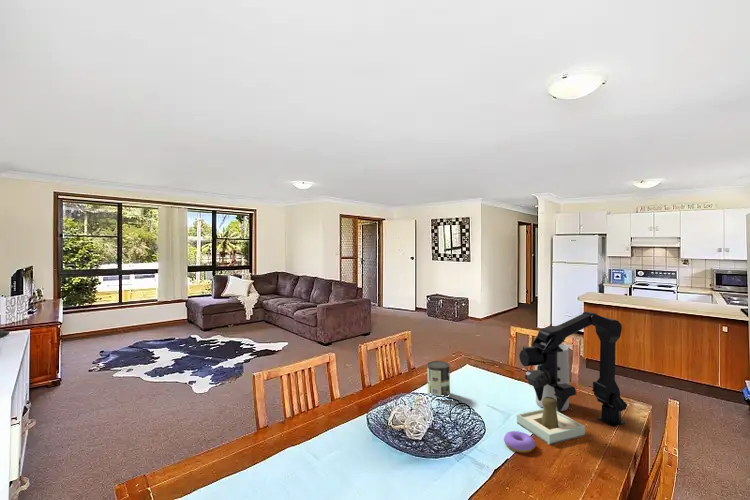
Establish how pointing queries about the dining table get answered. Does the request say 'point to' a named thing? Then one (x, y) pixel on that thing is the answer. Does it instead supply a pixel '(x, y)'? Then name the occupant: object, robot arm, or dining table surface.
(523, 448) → the donut
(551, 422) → the pepper shaker
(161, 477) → the dining table surface
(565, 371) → the cylinder vase
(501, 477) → the dining table surface
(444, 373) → the coffee can
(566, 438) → the square tray
